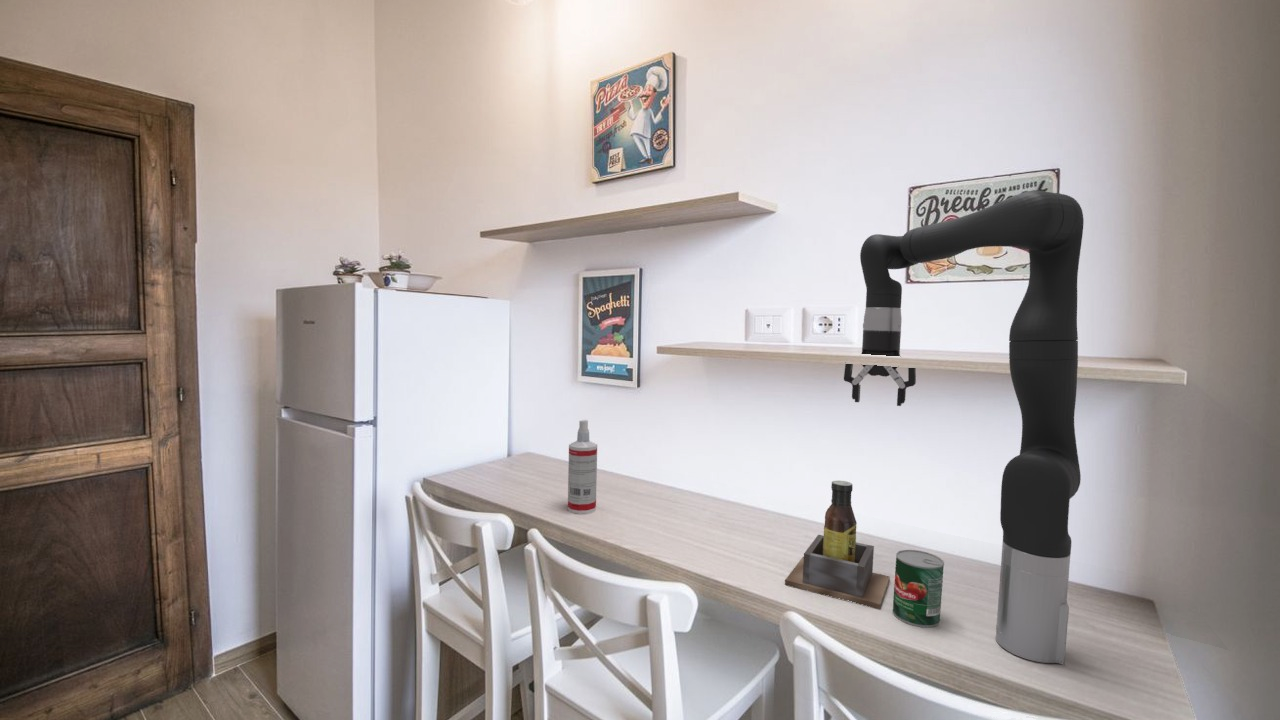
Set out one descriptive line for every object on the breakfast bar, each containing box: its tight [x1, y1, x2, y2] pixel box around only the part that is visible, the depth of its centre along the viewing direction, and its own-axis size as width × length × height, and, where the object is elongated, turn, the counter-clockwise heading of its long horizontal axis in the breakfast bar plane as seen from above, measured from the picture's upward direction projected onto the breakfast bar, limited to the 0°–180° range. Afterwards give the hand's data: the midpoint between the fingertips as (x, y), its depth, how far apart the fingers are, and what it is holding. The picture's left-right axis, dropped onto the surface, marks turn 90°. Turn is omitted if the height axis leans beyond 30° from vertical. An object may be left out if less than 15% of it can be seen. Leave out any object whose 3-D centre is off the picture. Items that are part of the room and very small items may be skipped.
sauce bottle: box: [823, 480, 857, 563], centre depth 117 cm, size 7×6×20 cm
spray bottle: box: [567, 419, 598, 515], centre depth 158 cm, size 8×8×25 cm
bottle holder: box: [784, 534, 891, 610], centre depth 117 cm, size 18×14×7 cm
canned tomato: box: [891, 549, 945, 628], centre depth 104 cm, size 8×8×11 cm
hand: (877, 403), depth 124 cm, fingers open, 8 cm apart
